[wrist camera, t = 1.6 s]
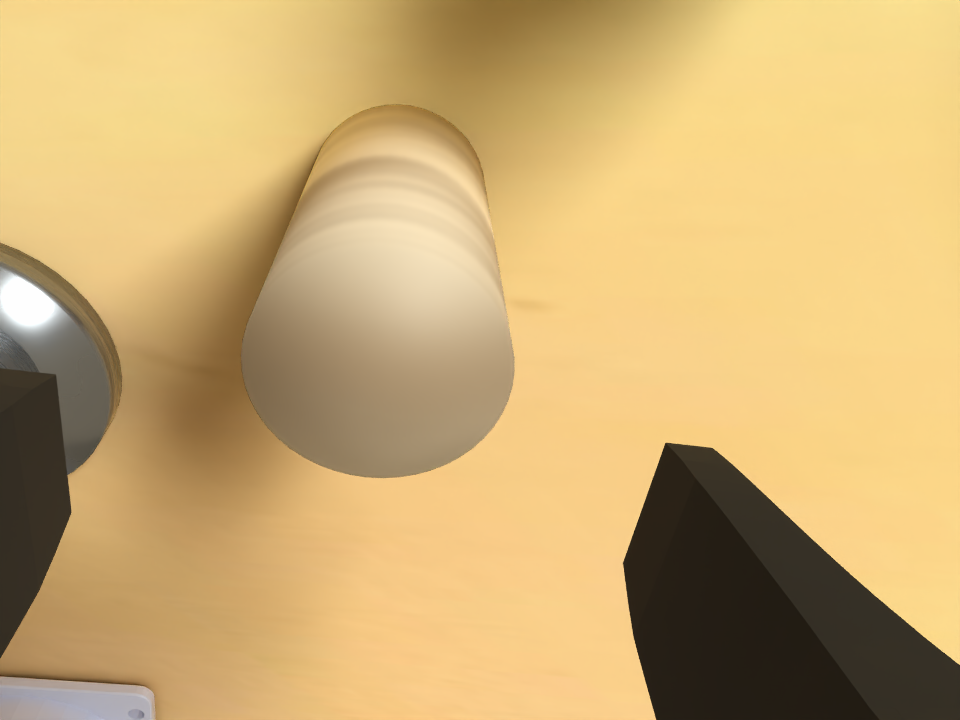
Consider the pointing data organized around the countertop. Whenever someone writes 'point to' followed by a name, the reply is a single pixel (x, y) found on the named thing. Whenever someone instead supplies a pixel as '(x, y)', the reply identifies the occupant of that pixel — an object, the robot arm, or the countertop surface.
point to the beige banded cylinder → (384, 304)
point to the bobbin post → (59, 348)
